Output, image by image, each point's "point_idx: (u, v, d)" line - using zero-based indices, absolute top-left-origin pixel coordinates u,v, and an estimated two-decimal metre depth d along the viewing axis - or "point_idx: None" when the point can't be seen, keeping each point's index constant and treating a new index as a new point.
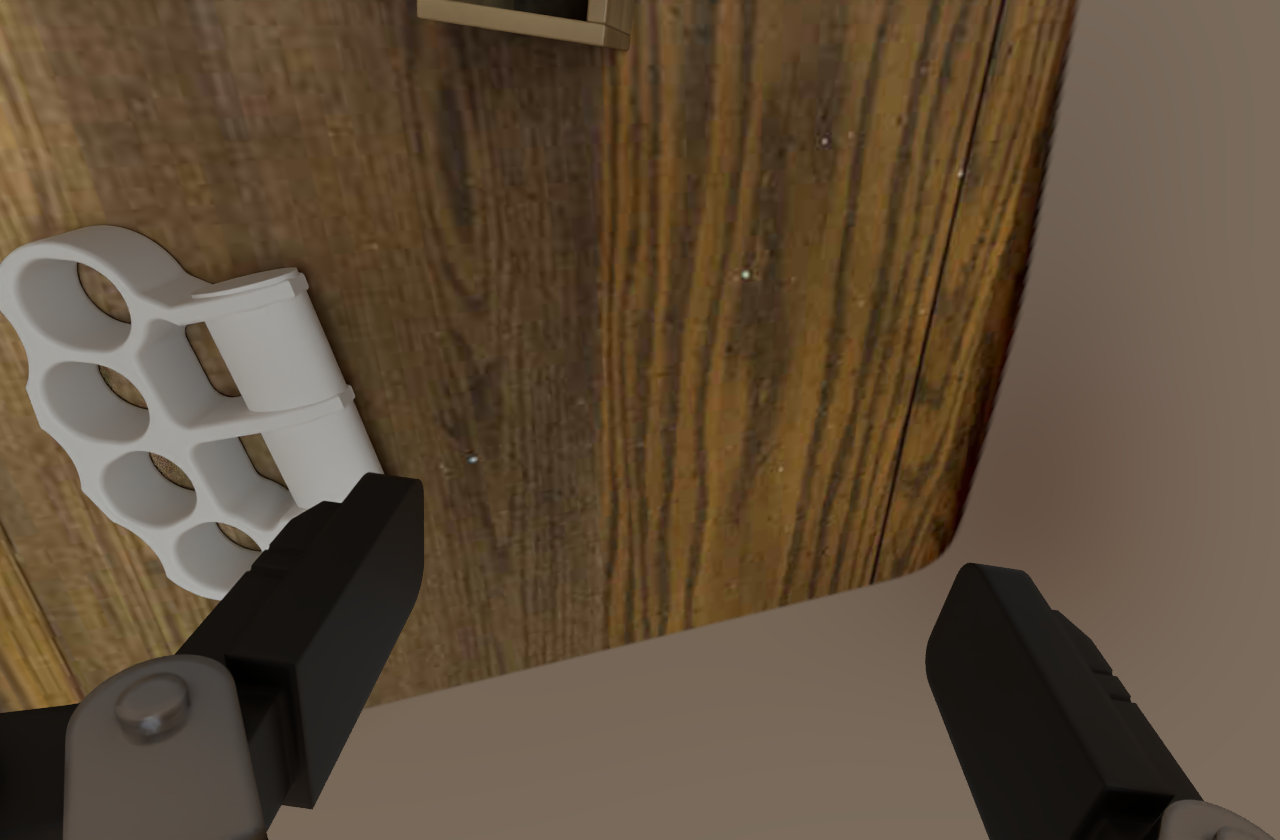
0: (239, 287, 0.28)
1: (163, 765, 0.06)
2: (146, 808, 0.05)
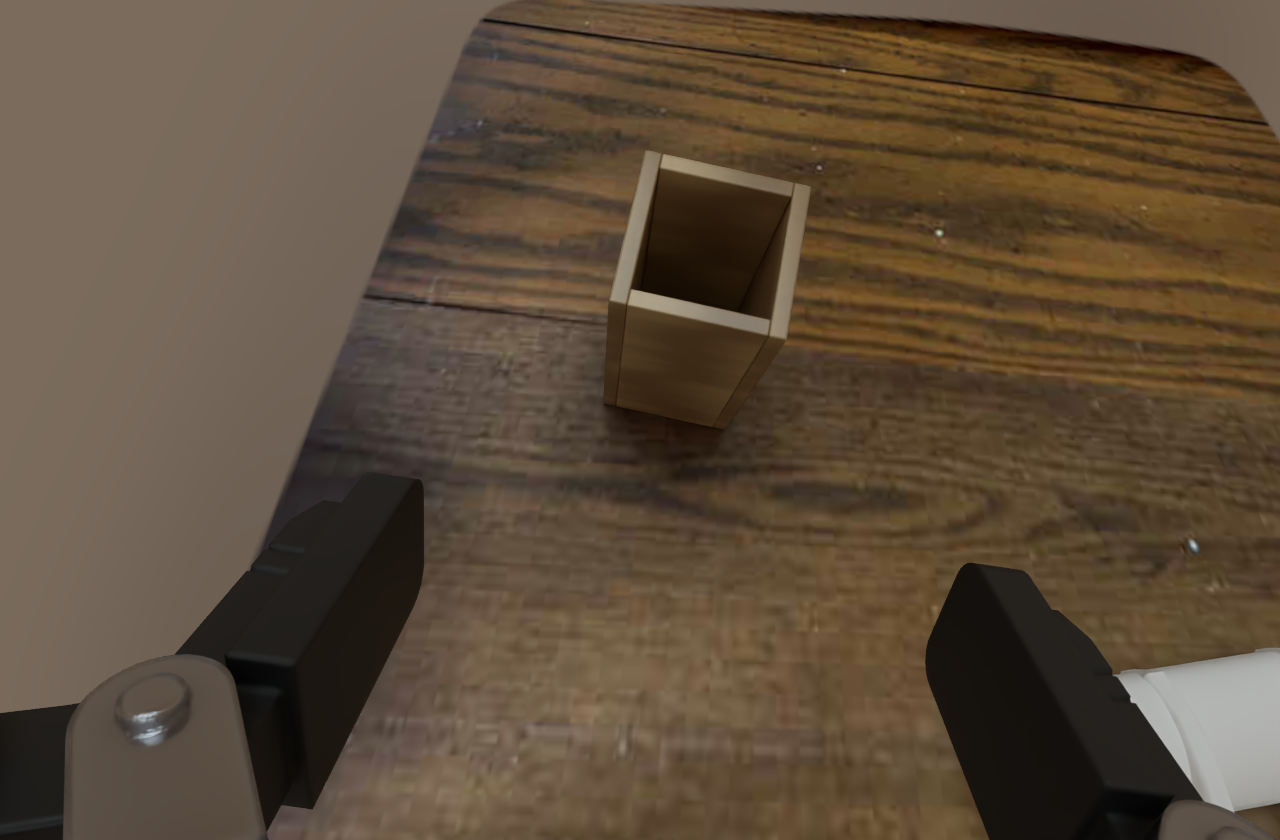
0: None
1: (163, 766, 0.06)
2: (146, 807, 0.05)
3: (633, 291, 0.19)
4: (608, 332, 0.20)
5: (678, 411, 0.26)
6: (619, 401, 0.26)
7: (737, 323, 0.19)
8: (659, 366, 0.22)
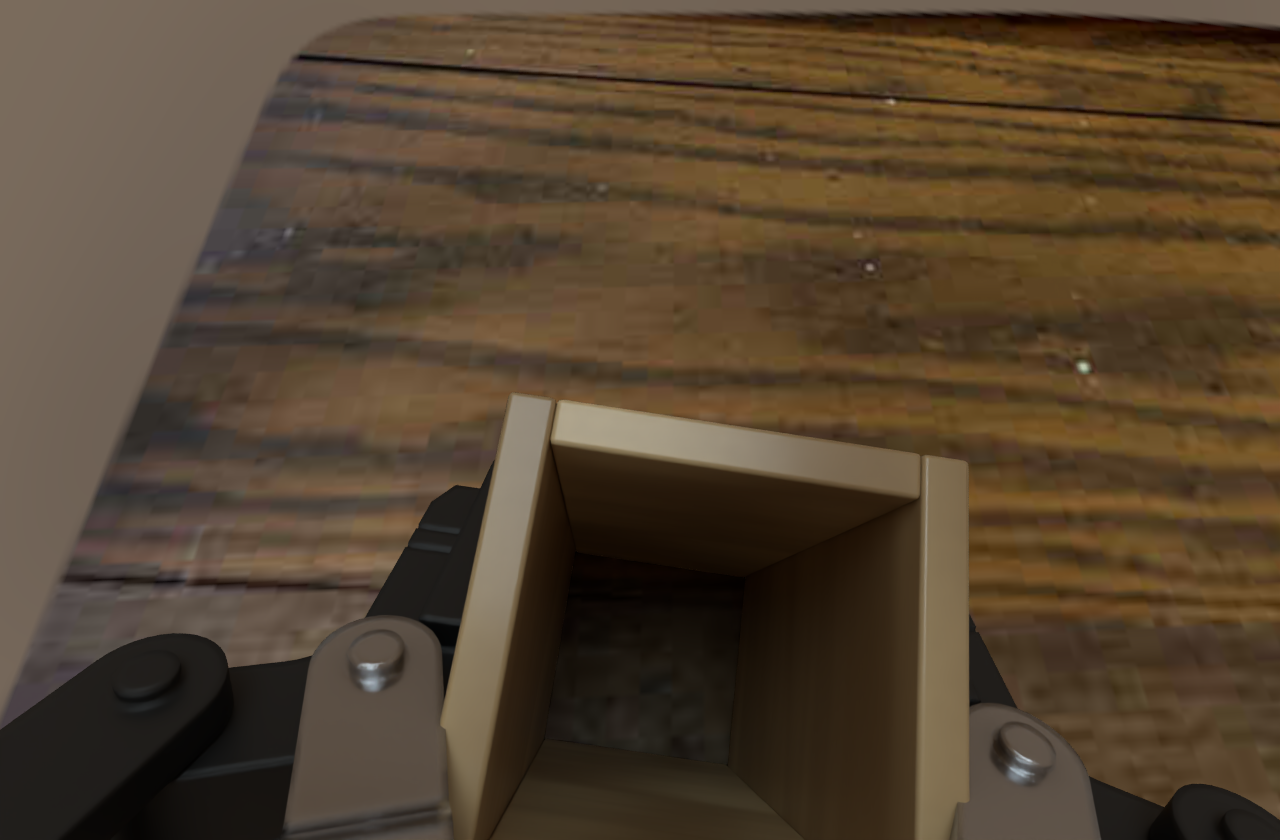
0: None
1: (376, 714, 0.06)
2: (396, 742, 0.06)
3: None
4: None
5: None
6: None
7: None
8: None
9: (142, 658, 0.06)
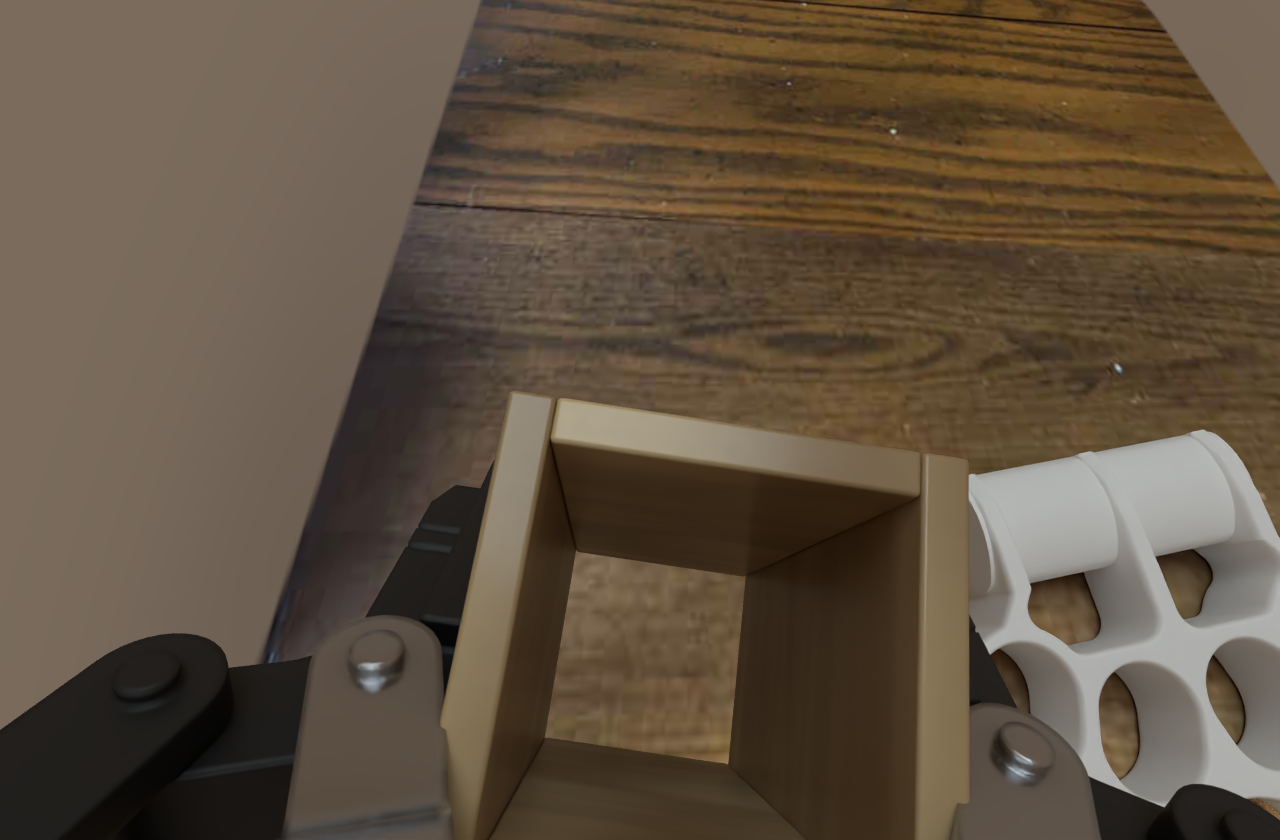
0: (976, 515, 0.27)
1: (376, 712, 0.06)
2: (397, 743, 0.06)
3: None
4: None
5: None
6: None
7: None
8: None
9: (142, 658, 0.06)
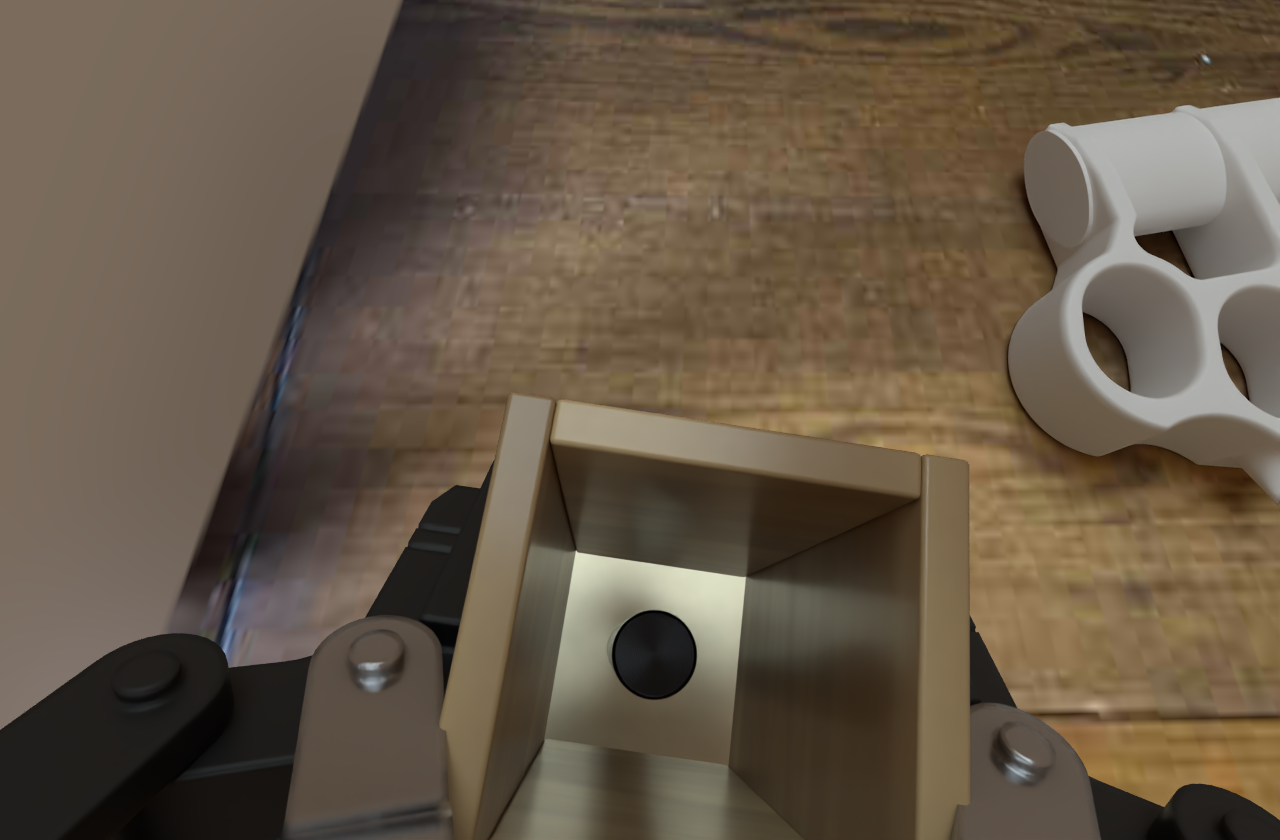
0: (1071, 151, 0.25)
1: (376, 712, 0.06)
2: (397, 742, 0.06)
3: None
4: None
5: None
6: None
7: None
8: None
9: (143, 658, 0.06)
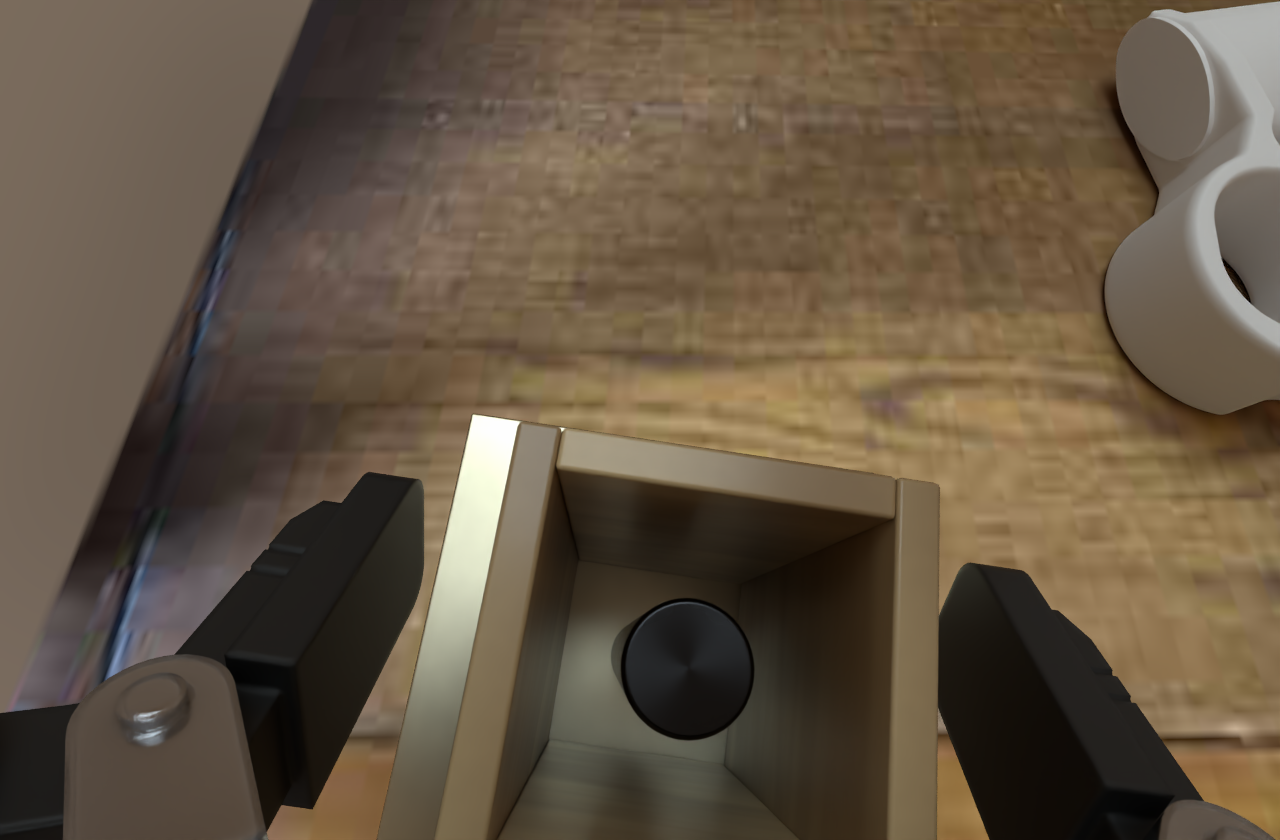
0: (1186, 37, 0.20)
1: (163, 766, 0.06)
2: (146, 807, 0.05)
3: None
4: None
5: None
6: None
7: None
8: None
9: None
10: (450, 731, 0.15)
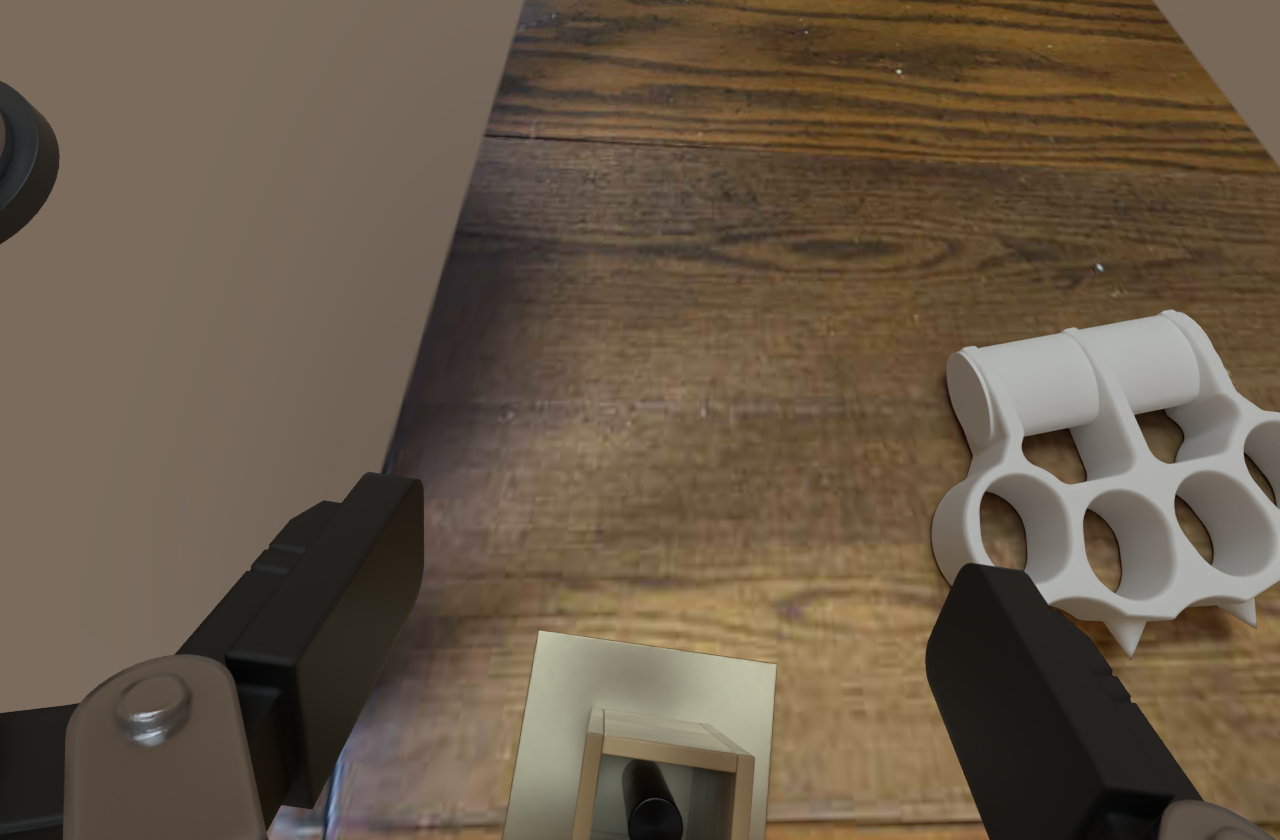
0: (977, 376, 0.32)
1: (163, 765, 0.06)
2: (146, 808, 0.05)
3: None
4: None
5: None
6: None
7: None
8: None
9: None
10: (532, 825, 0.27)
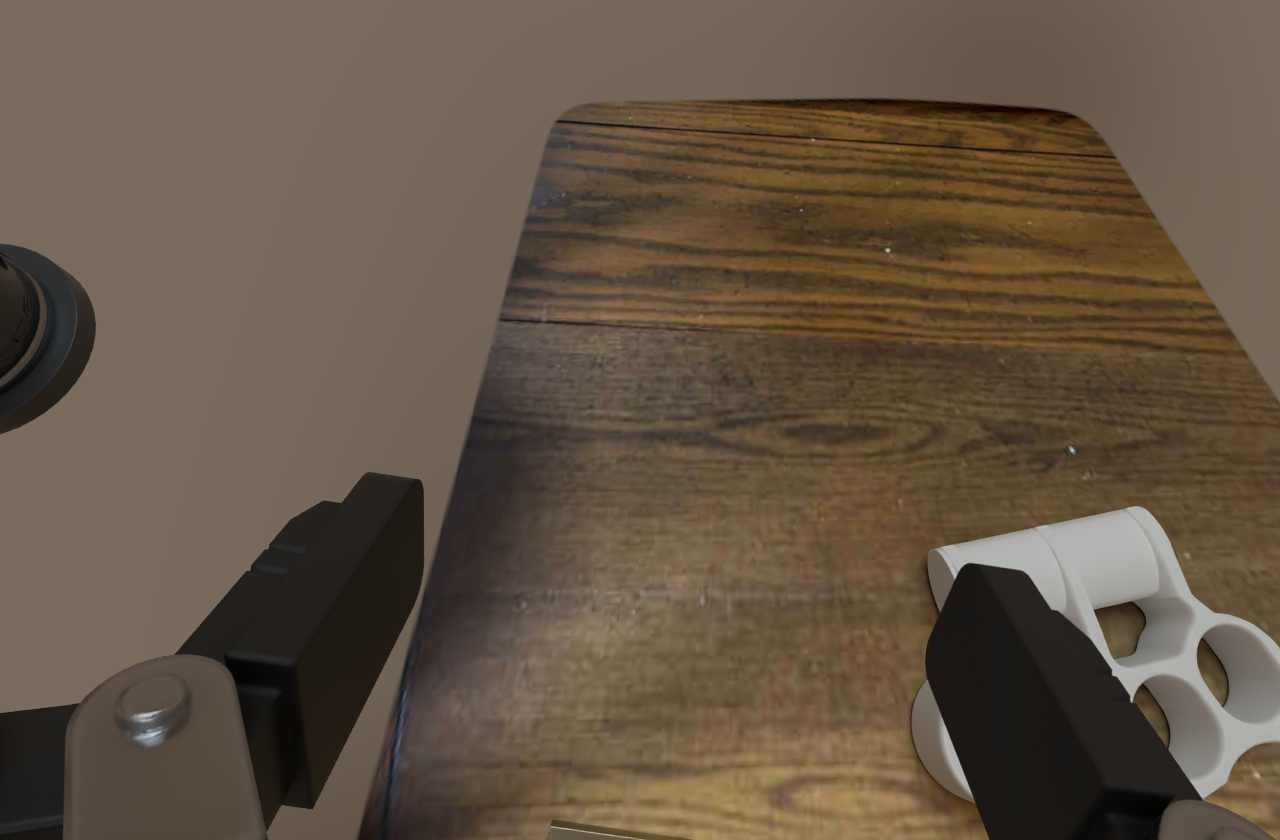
0: (954, 579, 0.35)
1: (163, 766, 0.06)
2: (146, 808, 0.05)
3: None
4: None
5: None
6: None
7: None
8: None
9: None
10: None
